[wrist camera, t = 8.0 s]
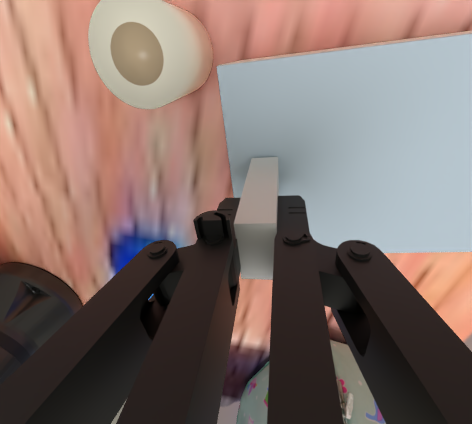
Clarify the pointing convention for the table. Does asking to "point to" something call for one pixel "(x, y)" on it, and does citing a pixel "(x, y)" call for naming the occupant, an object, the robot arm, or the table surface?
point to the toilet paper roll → (149, 51)
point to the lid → (363, 139)
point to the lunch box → (349, 387)
